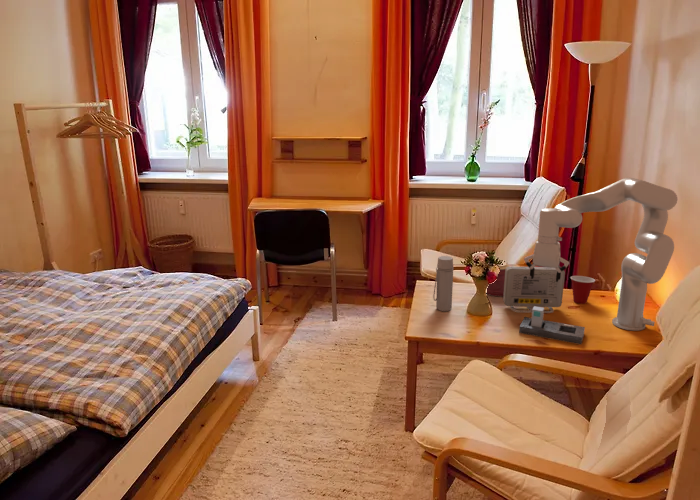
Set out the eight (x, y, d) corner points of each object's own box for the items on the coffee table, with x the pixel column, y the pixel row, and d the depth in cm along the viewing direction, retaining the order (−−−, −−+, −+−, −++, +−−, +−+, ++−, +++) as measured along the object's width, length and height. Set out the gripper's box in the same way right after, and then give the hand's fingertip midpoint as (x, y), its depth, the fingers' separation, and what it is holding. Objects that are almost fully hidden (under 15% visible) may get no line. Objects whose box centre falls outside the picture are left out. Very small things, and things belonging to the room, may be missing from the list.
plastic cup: (593, 299, 248) (596, 276, 245) (590, 307, 239) (593, 283, 236) (569, 296, 254) (572, 273, 250) (566, 303, 245) (568, 279, 242)
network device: (557, 306, 242) (561, 265, 236) (562, 313, 233) (567, 271, 228) (501, 304, 244) (504, 264, 239) (505, 312, 236) (508, 270, 230)
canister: (487, 286, 269) (489, 254, 264) (512, 290, 263) (514, 257, 258) (479, 293, 258) (481, 260, 254) (505, 298, 252) (508, 264, 247)
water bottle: (446, 305, 245) (448, 255, 238) (454, 311, 238) (457, 259, 231) (429, 307, 242) (430, 257, 235) (437, 313, 235) (438, 261, 228)
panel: (583, 333, 212) (584, 326, 211) (581, 344, 203) (582, 337, 202) (524, 323, 223) (524, 316, 223) (519, 332, 214) (519, 325, 213)
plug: (542, 329, 217) (544, 307, 214) (540, 334, 213) (542, 311, 210) (532, 327, 219) (534, 306, 216) (530, 332, 215) (532, 310, 212)
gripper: (572, 239, 205) (568, 279, 210) (527, 235, 213) (524, 274, 218) (570, 243, 199) (566, 285, 203) (523, 239, 207) (521, 279, 211)
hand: (544, 279), depth 211 cm, fingers open, 9 cm apart
